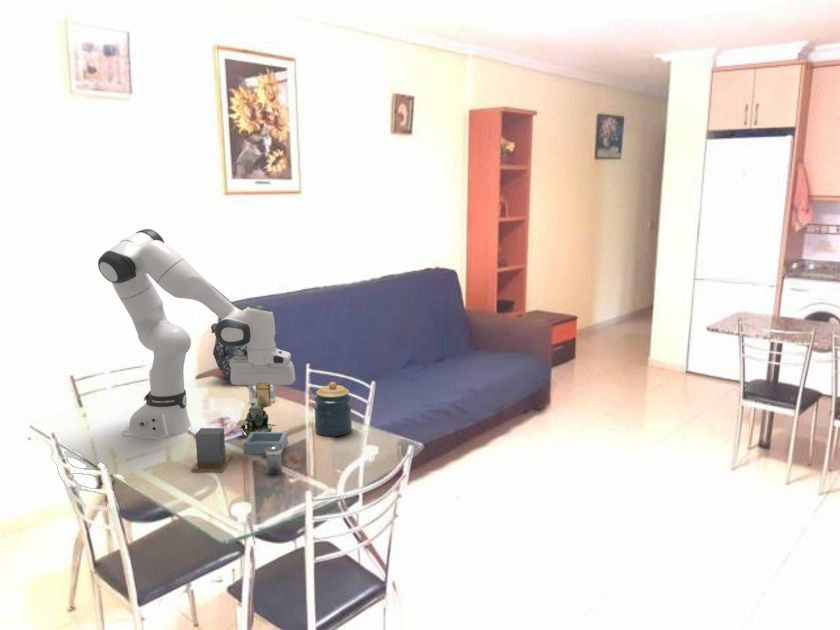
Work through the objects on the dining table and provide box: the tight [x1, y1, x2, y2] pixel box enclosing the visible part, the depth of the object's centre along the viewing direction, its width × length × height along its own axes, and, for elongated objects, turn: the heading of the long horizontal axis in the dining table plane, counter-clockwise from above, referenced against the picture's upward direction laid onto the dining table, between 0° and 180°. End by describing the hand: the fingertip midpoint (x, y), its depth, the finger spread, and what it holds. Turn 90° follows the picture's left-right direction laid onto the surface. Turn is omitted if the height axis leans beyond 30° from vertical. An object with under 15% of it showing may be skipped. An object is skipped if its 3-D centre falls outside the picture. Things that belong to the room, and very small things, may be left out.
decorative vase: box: [210, 322, 248, 386], centre depth 275 cm, size 21×19×28 cm
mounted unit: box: [190, 427, 233, 473], centre depth 193 cm, size 9×11×11 cm
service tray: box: [242, 431, 289, 455], centre depth 206 cm, size 12×10×4 cm
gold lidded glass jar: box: [256, 383, 272, 409], centre depth 203 cm, size 5×5×8 cm
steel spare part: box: [265, 444, 283, 476], centre depth 188 cm, size 5×5×8 cm
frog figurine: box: [236, 402, 277, 438], centre depth 219 cm, size 18×18×12 cm
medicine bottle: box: [248, 385, 276, 404], centre depth 250 cm, size 7×7×12 cm
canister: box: [313, 381, 353, 437], centre depth 221 cm, size 13×13×18 cm
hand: (263, 397), depth 203 cm, fingers closed on gold lidded glass jar, 4 cm apart
